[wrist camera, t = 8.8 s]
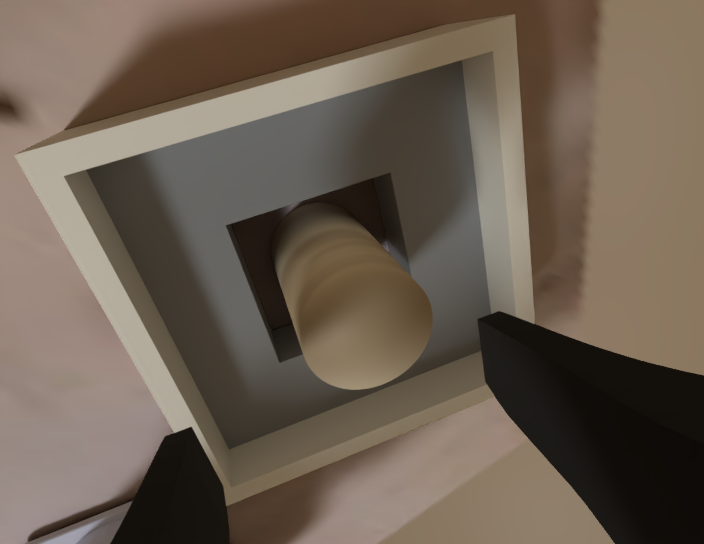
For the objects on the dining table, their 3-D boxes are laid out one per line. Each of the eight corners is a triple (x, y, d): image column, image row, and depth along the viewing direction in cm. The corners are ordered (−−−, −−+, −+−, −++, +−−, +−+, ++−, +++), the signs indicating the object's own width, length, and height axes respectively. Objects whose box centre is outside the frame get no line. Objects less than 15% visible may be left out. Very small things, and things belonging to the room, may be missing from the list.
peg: (372, 273, 21) (441, 360, 15) (287, 303, 20) (322, 408, 14) (351, 189, 19) (420, 249, 13) (257, 220, 19) (282, 299, 12)
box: (483, 326, 24) (538, 378, 20) (216, 428, 22) (218, 509, 18) (445, 24, 18) (515, 13, 14) (62, 130, 16) (14, 155, 12)
